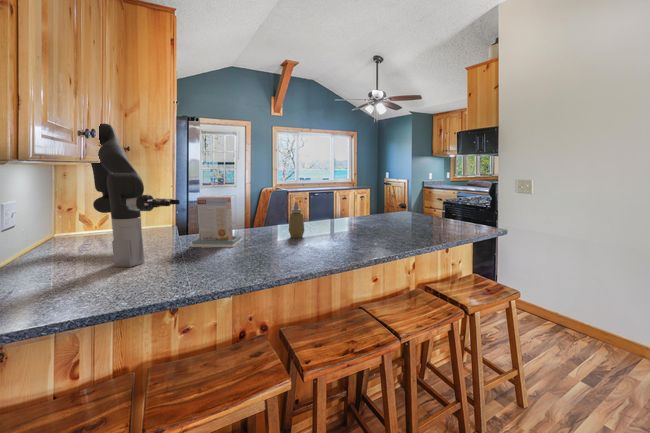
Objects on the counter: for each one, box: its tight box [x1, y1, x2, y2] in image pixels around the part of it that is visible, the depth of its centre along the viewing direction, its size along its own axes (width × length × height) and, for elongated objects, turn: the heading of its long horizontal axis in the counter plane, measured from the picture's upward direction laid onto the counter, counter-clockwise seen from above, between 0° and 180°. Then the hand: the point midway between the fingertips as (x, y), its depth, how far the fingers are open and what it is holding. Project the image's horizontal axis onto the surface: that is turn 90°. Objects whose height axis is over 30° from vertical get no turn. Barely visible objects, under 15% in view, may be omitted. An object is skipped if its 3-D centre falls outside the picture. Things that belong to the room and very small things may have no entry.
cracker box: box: [196, 196, 234, 241], centre depth 155 cm, size 14×6×21 cm, turn 85°
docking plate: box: [189, 235, 244, 248], centre depth 157 cm, size 14×20×2 cm
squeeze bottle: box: [288, 201, 305, 239], centre depth 170 cm, size 8×8×18 cm
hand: (174, 202), depth 153 cm, fingers open, 8 cm apart
